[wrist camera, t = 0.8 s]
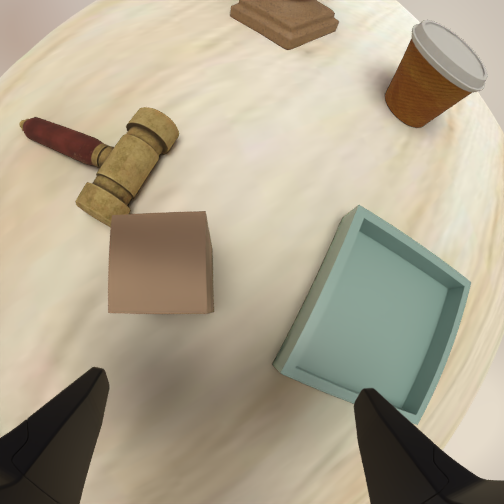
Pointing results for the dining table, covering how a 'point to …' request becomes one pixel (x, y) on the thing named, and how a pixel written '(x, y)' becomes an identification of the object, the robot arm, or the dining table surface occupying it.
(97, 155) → the gavel
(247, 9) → the candle holder
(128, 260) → the walnut block
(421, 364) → the box
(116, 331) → the dining table surface
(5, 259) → the dining table surface
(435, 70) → the disposable coffee cup
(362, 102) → the dining table surface
